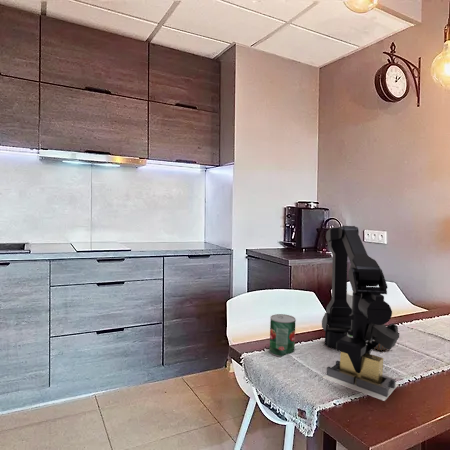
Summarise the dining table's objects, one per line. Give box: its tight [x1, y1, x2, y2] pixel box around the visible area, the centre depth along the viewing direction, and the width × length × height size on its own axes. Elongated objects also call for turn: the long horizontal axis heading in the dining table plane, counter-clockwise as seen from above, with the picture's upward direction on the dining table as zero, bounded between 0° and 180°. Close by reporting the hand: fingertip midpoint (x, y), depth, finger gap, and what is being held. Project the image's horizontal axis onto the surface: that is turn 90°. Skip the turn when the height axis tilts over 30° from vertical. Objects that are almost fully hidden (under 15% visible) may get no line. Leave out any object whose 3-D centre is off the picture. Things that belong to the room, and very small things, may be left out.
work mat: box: [321, 374, 400, 402], centre depth 94 cm, size 16×11×1 cm
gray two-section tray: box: [325, 360, 397, 397], centre depth 94 cm, size 16×6×2 cm, turn 48°
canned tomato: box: [268, 313, 297, 358], centre depth 113 cm, size 8×8×11 cm
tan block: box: [339, 352, 384, 384], centre depth 94 cm, size 10×3×6 cm, turn 48°
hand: (360, 370), depth 94 cm, fingers closed on tan block, 3 cm apart
